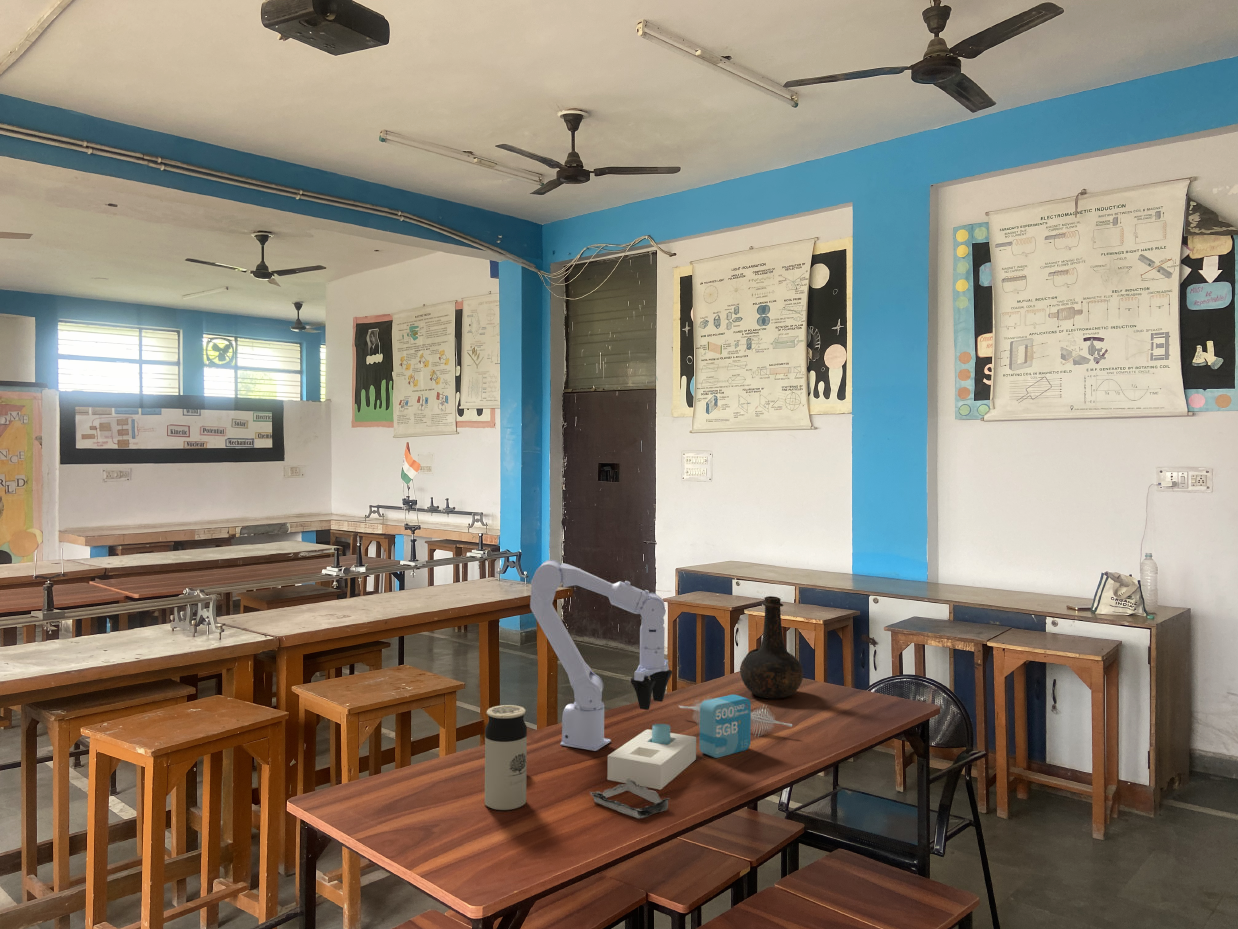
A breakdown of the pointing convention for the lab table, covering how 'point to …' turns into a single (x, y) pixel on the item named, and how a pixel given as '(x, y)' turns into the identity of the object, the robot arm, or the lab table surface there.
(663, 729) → the pin
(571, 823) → the lab table surface
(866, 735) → the lab table surface
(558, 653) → the robot arm
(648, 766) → the hole board
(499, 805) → the travel mug
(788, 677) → the glass bottle
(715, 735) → the data package
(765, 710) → the test tube brush
